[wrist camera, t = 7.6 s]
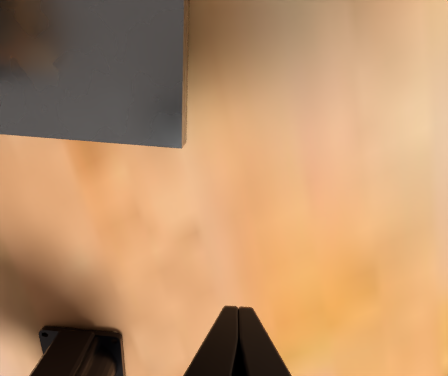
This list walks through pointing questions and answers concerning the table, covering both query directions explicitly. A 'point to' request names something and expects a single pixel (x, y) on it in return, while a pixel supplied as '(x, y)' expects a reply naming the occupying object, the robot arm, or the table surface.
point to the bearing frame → (95, 70)
